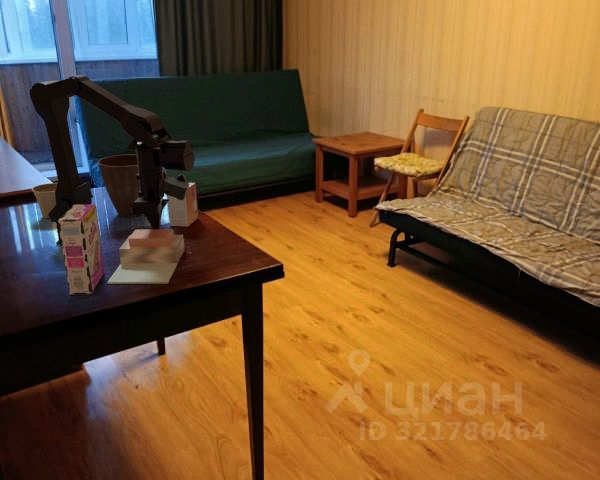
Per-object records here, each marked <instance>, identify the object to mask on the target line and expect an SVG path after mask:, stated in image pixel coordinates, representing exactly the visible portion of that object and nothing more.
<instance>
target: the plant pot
mask: <svg viewBox="0 0 600 480" xmlns="http://www.w3.org/2000/svg"><path fill="white" fill-rule="evenodd" d="M97 164H98V167H99V172H100V175H101V178H102V182H103V185H104V187H105V189H106V190H105V191H106V192H107V194H108V197H109V199H110V201H111V203H112V206H113V208H114V209H115V211H116V213H117V214H118V216H119V217H123V218H133V217H138V216H140V215H133V214H131V207H130V206H131V205H132V204H133V203H134V201H135V200H136V199H137V198H144V196H138V192H139V191H140V183H139V179H137V178H136V175H137V174H138V165H137V156H136V153H135V154H132V153H131V154H129V153H128V154H118V155H111V156H107V157H104V158H101V159H98V161H97Z"/></svg>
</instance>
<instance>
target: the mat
mask: <svg viewBox="0 0 600 480" xmlns="http://www.w3.org/2000/svg"><path fill="white" fill-rule="evenodd" d="M177 267H178V264H177V263H127V264H121V263H120V264H119V266H118V267H117V268H116V270H115V271H114V272H113V274H112V275H111V276H110V277H109V279H108V281H106V282H107V283H106V284H107V285H123V284H124V285H125V284H126V285H133V284H134V285H135V284H136V285H140V284H141V285H142V284H143V285H145V284H146V285H147V284H148V285H153V284H155V285H157V284H159V285H160V284H162V285H163V284H167V285H169V282H170V280H171V278H172V276H173V274H174V272H175V270H176V268H177Z"/></svg>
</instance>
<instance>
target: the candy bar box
mask: <svg viewBox="0 0 600 480" xmlns="http://www.w3.org/2000/svg"><path fill="white" fill-rule="evenodd" d="M97 211H98V210H97V204H95V203H91V204H81V205H73V207H72V208H71V209H70V210H68V211H67V212H66V213H65V214H64V215H63V216H62V217H61V218H60V219H59V220H58V224H59V230H60V237H61V243H62V244H61V248H62V249H61V250H62V254H63V260H64V261H63V262H64V266H65V274H66V282H67V287H68V294H69V295H71V296H72V295H73V296H77V295H78V296H80V295H92V294H94V291H95V290H96V288H97V286H98V284H99V282H100V281H101V279H103V278H102V277H103V276H104V274H105V266H104V258H103V250H102V242H101V235H100V233H101V232H100V225H99V219H98V212H97Z"/></svg>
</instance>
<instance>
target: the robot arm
mask: <svg viewBox="0 0 600 480" xmlns="http://www.w3.org/2000/svg"><path fill="white" fill-rule="evenodd" d="M75 96H77V97H78V98H80V99H82V100H83V101H85V102H86V103H88V104H90V105H91V106H93V107H94V108H96V109H97V110H99V111H101V112H102V113H104V114H105V115H106V116H109V117H110V118H111V119H113V120H115V121H116V122H118V124H119V125H120V126H121V127H122V130H123V131H124V132H125V133H126V134H127V135H129V136H130V137H131V138H132V140H131V142H130V143H129V144H128V145H127V146H126V150H129V151H131V150H132V151H135V154H136V156H137V165H138V174H137V175H136V178H137V179H139V183H140V191H139V192H138V196H144V198H137V199H136V200H135V201H134V203H133V204H132V205H131V206H130V207H131V214H133V215H139V216H141V215H143V216H144V217H145V218H146V220H147V222H148V223H149V225H150V226H151V228H152V229H161V224H162V223H161V222H162V216H163V210H164V208H165V207H166V205H168V201H169V199H167V198H164V197H165V195H166V196H167V195H169V196H172V197H175V198H177V199H178V200H184V198H185V197H186V195H187V191H188V188H189V183H190V182H189V181H187V177H186V175H184V174H182V173H179V174H178V176H176V177H174V176H173V177H170V176H168V173H167V171H184V172H190V171H192V170H193V168H194V167H195V166H194V165H195V156H196V155H195V152H194V150H193V148H192V146H190V141H189V140H174V138H173V136H172V135H171V133H170V132H169V131H168V130H167V129H166V127H165V126H164V124H163V121H162V118H161V116H159V115H158V114H157V113H155V112H152V111H151V110H150V111H149V110H147V109H146V108H142V107H138V106H134V105H131V104H129V103H127V102H126V101H124V100H122V99H121V98H119V97H118V96H117V95H115V94H113V93H112V92H110V91H108V90H107V89H105V88H103V87H102V86H100V85H99V84H97V83H96V82H94V81H92V80H91V79H90V78H89V77H88V76H86V75H85V74H78V75H72V76H69V77H68V78H64V79H62V80H58V79H57V80H56V79H54V80H49V81H48V80H47V81H41V82H36V83H34V84H33V85H32V86H31V88H30V89H29V97H30V100H31V102H32V105H33V108H34V111H35V112H36V113H37V115H38V116H39V117H40V118H41V119H42V120H43V122H44V125H45V130H46V133H47V138H48V139H47V140H48V143H49V147H50V151H51V155H52V161H53V164H54V168H55V172H56V177H57V182H56V183H57V187H56V191H55V201H56V205H55V206H54V208H53V209H52V210H51V211H50V213H49V214H48V216H49V218H48V219H49V220H50V222H51V223H54V224H55V225H56V226H55V227H56V232H57V239H58V240H57V241H56V242H55V243H56V245H62V243H61V237H60V230H59V224H58V220H59V219H60V218H61V217H62V216H63V215H64V214H65V213H66V212H67V211H68V210H70V209H71V208H72V207H73V205H81V204H93V203H92V201H93V200H92V198H94V195H93V194H92V190H91V184H90V182H84V180H83V179H82V178H81V177H80V174H79V170H78V166H77V161H76V157H75V152H74V148H73V144H72V143H73V142H72V139H71V134H70V130H69V125H68V119H67V118H68V115H69V109H70V107H71V106H70V104H71V103H70V98H71V97H75ZM156 137H157V138H156Z"/></svg>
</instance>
